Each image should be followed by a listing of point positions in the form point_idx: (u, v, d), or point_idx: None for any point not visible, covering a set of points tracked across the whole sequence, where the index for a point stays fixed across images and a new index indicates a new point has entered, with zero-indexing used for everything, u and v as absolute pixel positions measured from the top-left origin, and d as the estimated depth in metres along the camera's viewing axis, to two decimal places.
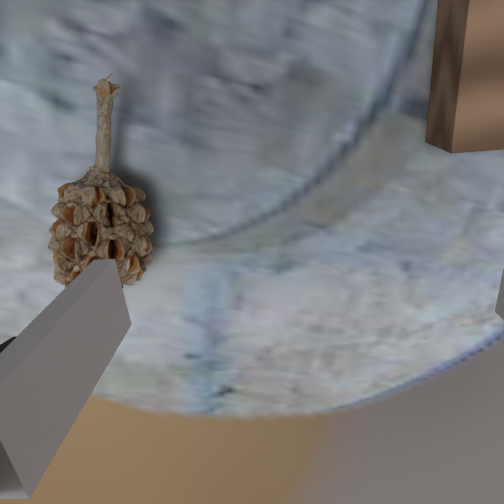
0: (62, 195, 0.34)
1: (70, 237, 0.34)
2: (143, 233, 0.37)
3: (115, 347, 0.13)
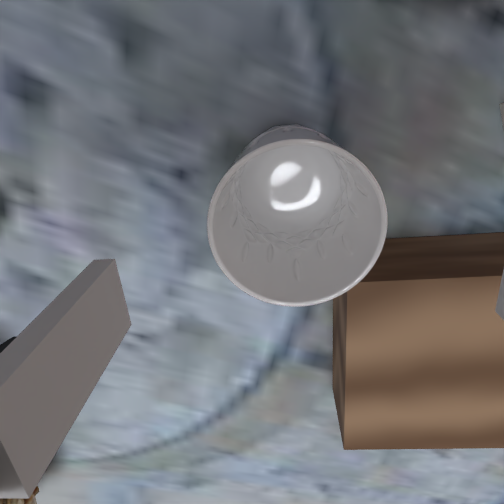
0: None
1: None
2: None
3: (115, 347, 0.13)
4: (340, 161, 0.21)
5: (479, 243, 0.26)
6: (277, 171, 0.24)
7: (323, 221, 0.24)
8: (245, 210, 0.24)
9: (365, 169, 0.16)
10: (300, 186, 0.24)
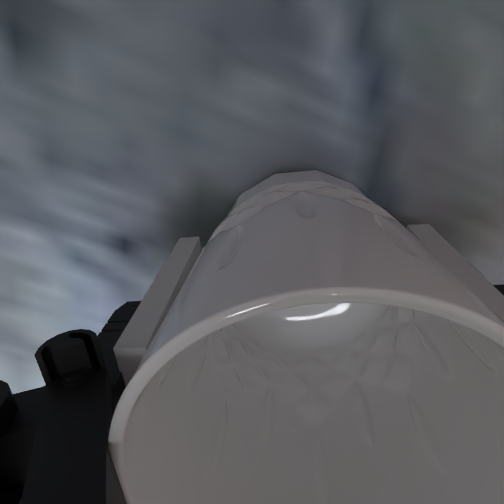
0: None
1: None
2: None
3: None
4: None
5: None
6: None
7: (361, 339, 0.14)
8: None
9: None
10: None
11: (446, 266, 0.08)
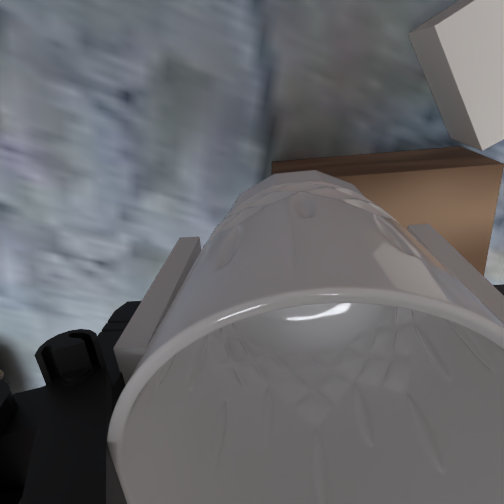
0: None
1: None
2: None
3: None
4: None
5: (402, 155, 0.28)
6: None
7: (361, 339, 0.14)
8: None
9: None
10: None
11: (445, 266, 0.08)
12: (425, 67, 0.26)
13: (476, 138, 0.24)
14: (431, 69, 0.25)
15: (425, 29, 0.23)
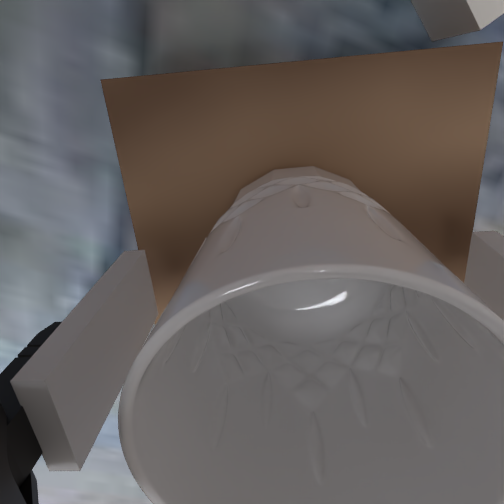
0: None
1: None
2: None
3: (145, 334, 0.13)
4: None
5: None
6: None
7: (357, 328, 0.14)
8: (226, 311, 0.14)
9: None
10: None
11: (431, 252, 0.08)
12: None
13: (468, 9, 0.14)
14: None
15: None
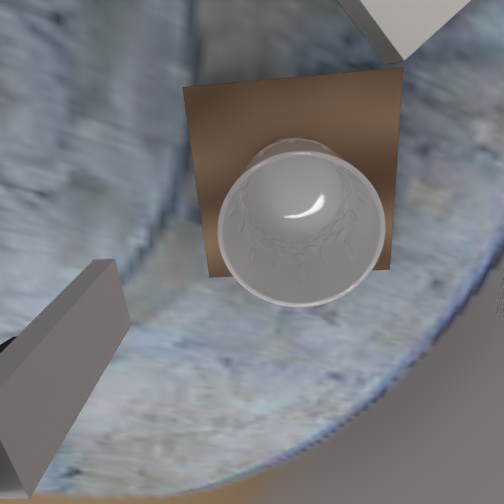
0: None
1: None
2: None
3: (115, 347, 0.13)
4: (342, 171, 0.22)
5: None
6: (282, 180, 0.26)
7: (326, 228, 0.25)
8: (252, 217, 0.25)
9: (364, 179, 0.17)
10: (304, 195, 0.26)
11: None
12: (340, 0, 0.27)
13: (395, 50, 0.25)
14: None
15: None
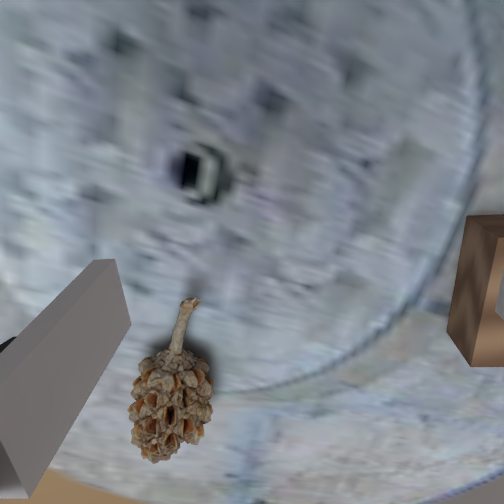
0: (145, 381, 0.41)
1: (150, 416, 0.41)
2: (206, 401, 0.44)
3: (115, 347, 0.13)
4: None
5: None
6: None
7: None
8: None
9: None
10: None
11: None
12: None
13: None
14: None
15: None
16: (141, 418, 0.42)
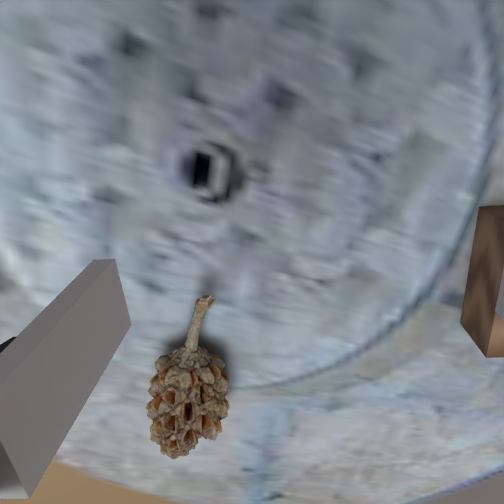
0: (162, 379, 0.41)
1: (169, 413, 0.41)
2: (223, 397, 0.45)
3: (115, 347, 0.13)
4: None
5: None
6: None
7: None
8: None
9: None
10: None
11: None
12: None
13: None
14: None
15: None
16: (159, 415, 0.42)
